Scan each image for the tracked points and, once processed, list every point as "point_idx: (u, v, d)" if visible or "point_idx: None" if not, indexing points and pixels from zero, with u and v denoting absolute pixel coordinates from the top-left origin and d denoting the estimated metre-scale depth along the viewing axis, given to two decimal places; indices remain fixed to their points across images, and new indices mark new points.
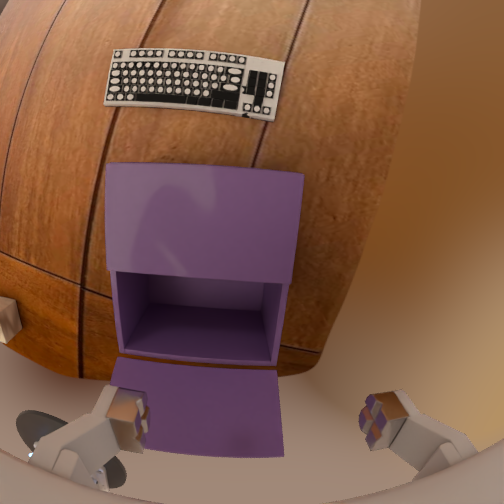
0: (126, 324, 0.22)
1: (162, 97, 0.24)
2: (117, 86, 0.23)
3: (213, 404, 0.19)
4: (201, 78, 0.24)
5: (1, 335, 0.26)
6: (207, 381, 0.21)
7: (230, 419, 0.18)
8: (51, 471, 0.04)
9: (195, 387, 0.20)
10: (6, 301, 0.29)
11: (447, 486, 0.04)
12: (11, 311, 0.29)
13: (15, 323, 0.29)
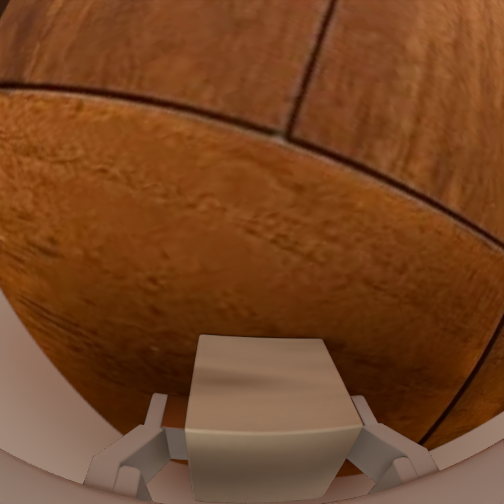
0: None
1: None
2: None
3: None
4: None
5: (316, 486, 0.07)
6: None
7: None
8: (112, 491, 0.04)
9: None
10: (298, 355, 0.09)
11: (447, 486, 0.04)
12: None
13: None
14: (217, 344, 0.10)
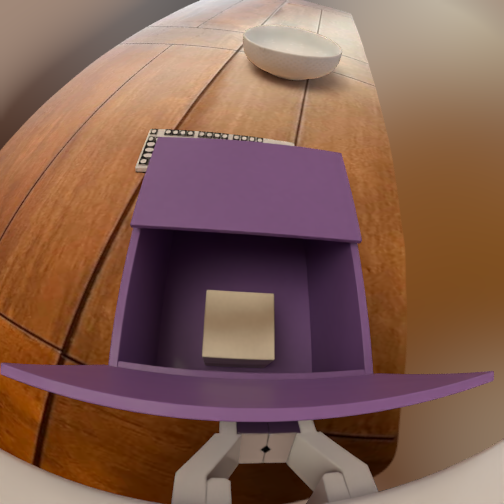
0: (129, 333, 0.14)
1: None
2: (151, 153, 0.30)
3: (303, 386, 0.09)
4: None
5: (266, 341, 0.18)
6: (276, 382, 0.11)
7: (350, 387, 0.08)
8: None
9: (256, 383, 0.10)
10: None
11: (447, 486, 0.04)
12: None
13: None
14: None
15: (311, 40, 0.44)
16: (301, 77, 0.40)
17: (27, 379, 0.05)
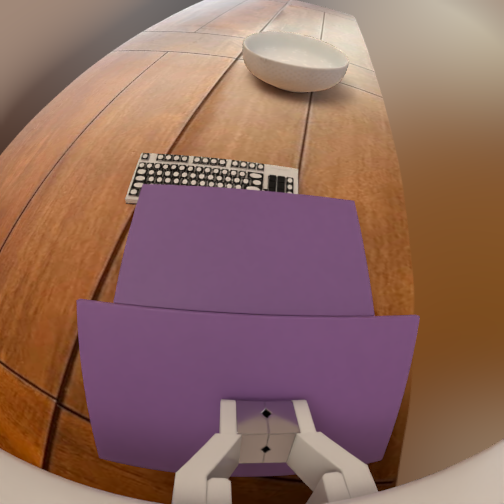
0: None
1: None
2: (141, 183, 0.28)
3: None
4: (225, 180, 0.29)
5: None
6: None
7: None
8: None
9: None
10: None
11: (447, 486, 0.04)
12: None
13: None
14: None
15: (315, 48, 0.42)
16: (305, 90, 0.38)
17: (100, 302, 0.09)
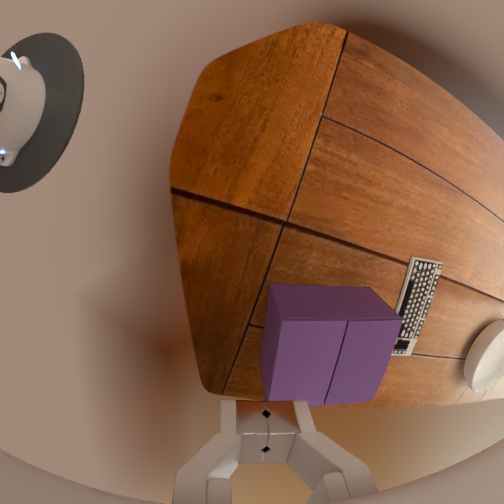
0: None
1: (407, 297, 0.41)
2: (421, 268, 0.39)
3: None
4: (411, 318, 0.42)
5: None
6: None
7: None
8: None
9: None
10: None
11: (447, 486, 0.04)
12: None
13: None
14: None
15: (500, 368, 0.44)
16: None
17: (345, 327, 0.31)
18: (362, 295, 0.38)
